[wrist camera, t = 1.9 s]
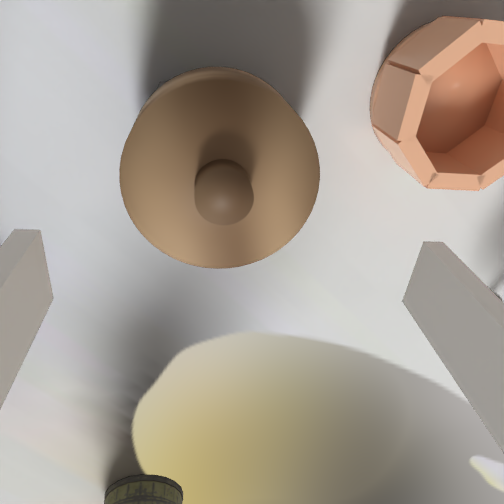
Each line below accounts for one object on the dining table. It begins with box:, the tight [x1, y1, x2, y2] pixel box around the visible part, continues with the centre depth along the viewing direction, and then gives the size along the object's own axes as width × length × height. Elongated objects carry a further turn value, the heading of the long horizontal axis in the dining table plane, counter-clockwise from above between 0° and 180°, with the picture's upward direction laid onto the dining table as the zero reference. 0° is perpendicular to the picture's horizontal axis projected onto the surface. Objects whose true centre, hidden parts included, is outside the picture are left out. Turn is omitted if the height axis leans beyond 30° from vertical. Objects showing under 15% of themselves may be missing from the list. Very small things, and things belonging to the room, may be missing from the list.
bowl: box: [370, 16, 504, 191], centre depth 25 cm, size 9×9×5 cm
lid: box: [120, 67, 320, 268], centre depth 22 cm, size 10×10×6 cm
